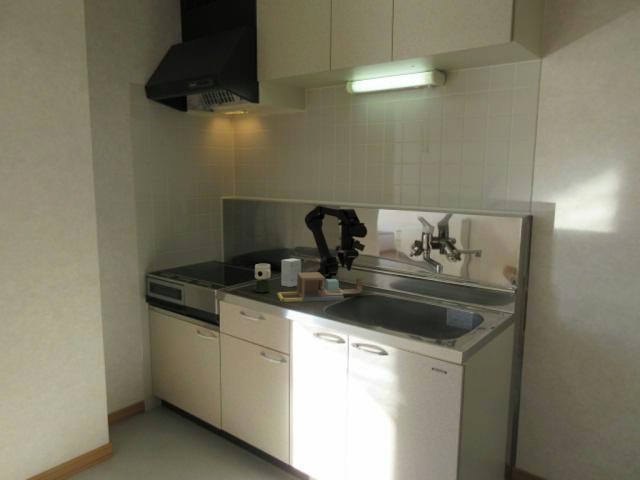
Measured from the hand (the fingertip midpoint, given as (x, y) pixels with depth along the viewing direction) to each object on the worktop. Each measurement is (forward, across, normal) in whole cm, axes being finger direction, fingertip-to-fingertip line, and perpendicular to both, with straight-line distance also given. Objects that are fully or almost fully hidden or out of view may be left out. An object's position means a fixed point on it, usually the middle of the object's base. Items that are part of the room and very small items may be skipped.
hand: (345, 268), depth 217 cm
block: (+9, -5, +8) cm, 13 cm away
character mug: (+12, +9, +38) cm, 41 cm away
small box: (+12, +22, +22) cm, 33 cm away
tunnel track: (+12, -5, +18) cm, 22 cm away
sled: (+10, -5, +3) cm, 12 cm away
